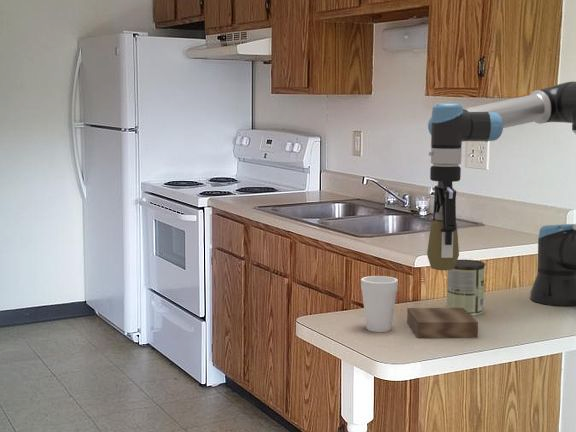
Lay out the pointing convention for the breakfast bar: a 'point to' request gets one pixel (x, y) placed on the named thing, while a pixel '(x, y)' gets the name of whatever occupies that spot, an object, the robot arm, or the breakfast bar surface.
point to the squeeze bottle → (436, 245)
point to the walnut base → (442, 323)
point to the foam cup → (379, 301)
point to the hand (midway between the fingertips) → (443, 254)
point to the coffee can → (466, 286)
